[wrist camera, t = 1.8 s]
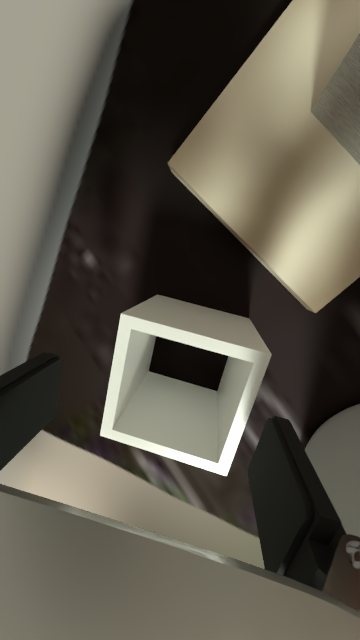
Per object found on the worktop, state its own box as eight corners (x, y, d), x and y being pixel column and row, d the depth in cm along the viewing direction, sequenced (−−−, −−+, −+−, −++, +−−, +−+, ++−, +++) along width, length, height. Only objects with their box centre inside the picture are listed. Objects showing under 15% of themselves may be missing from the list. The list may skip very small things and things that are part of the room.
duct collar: (249, 318, 17) (271, 354, 10) (212, 429, 19) (211, 517, 13) (157, 294, 17) (121, 313, 11) (134, 405, 20) (92, 477, 13)
